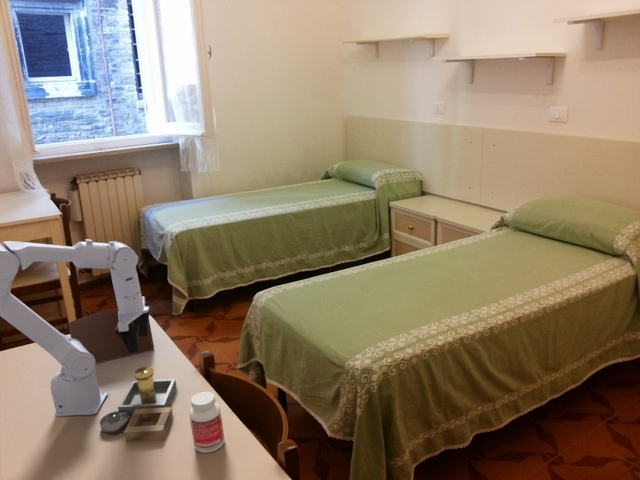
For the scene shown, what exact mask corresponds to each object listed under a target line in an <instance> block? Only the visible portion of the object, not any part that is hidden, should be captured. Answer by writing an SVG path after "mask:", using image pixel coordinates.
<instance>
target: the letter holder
mask: <svg viewBox="0 0 640 480" xmlns="http://www.w3.org/2000/svg"><path fill="white" fill-rule="evenodd" d="M118 311H119V310H118V308H114V309H110V310H103V311H101V312H100V311H99V312H96V313H93V314H89V315H87V316H84V317H81V318H77V319H74V320H72V321H70V322H68V323H69V324H68V330H69V335H70V338H71V339H76V340H78V341H80V342H81V343H82V345H83V347H84V348H85V349H86V350H87V351H88V352H89V353H90V354H92V355H93V356H94V358H95V362H96V363H95V365H96V364H100V363H104V362H108V361H114V360H118V359H122V358H126V357H130V356H134V355H138V354H142V353H147V352H151V351H154V350H155V345H154V339H153V334H152V333H153V332H152V327H151V324H150V319H149V320H148V335H147V336H141V337H139V336H138V342H139V350H138V352H134V353H129V351H128V350H127V348H126V346H125V344H124V342H123V341H122V339H121V338H120V337H119V336H118V335H117V334H115V331H114V329H115V327H116V326H118V325H117V324H118V322H119V317H118ZM131 324H133V326H134V323H133V321H132V322H131Z"/></svg>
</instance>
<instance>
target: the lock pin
mask: <svg viewBox="0 0 640 480" xmlns="http://www.w3.org/2000/svg"><path fill="white" fill-rule="evenodd" d="M154 374H155V373H154V368H153V367H151V366H143V367H139V368H138V369H136V370H135V371H134V373H133V376H134V379H135V380H136V381H137V382H138V387H139V393H140V398H141V403H142V404H153V403H155V402H156V400H157V399H156V394H155V388H154V382H153V380H154V378H153V375H154Z"/></svg>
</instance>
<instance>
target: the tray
mask: <svg viewBox="0 0 640 480" xmlns="http://www.w3.org/2000/svg"><path fill="white" fill-rule="evenodd" d="M153 382H154V388H155V394H156V399H157V400H156V402H155V403H153V404H142V403H141V398H140V393H139V387H138V382H137V380H132V381H131V383H130V384H129V387H128V388H127V390H126V391H125V393H124V395H123V396H122V399H121V401H120V402H119V404H118V406H117V411H124V412H126V413H128V415H129V418H130V417H132V415H133V413H134V411H135V409H148V408H167V407H171V406H170V405H171V403H172V401H173V399H174V395H175V393H176V391H177V381H176V378H167V379H165V378H164V379H153Z"/></svg>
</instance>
